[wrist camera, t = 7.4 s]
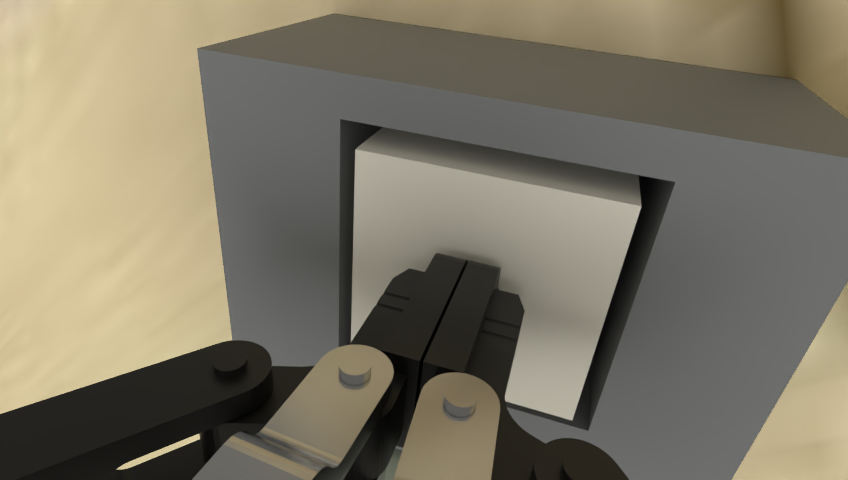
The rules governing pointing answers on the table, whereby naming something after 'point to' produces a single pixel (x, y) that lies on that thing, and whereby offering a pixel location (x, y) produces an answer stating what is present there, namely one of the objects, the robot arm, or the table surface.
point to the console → (567, 141)
